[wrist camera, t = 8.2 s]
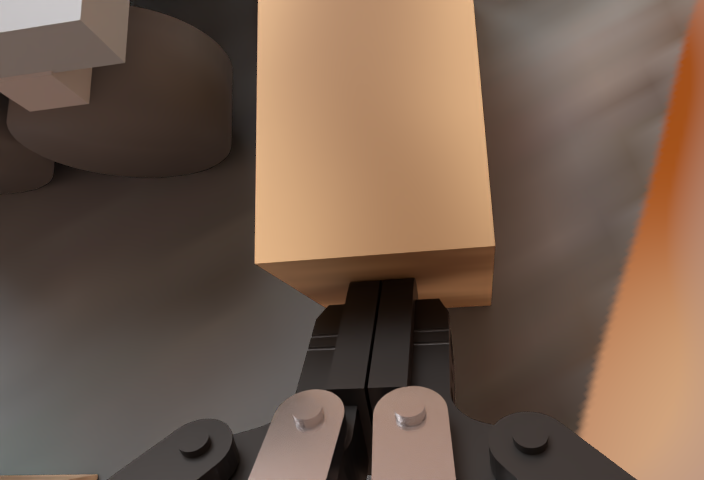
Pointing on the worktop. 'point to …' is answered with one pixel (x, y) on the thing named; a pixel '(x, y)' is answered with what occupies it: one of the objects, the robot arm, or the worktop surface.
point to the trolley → (108, 92)
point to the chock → (372, 148)
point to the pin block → (50, 477)
